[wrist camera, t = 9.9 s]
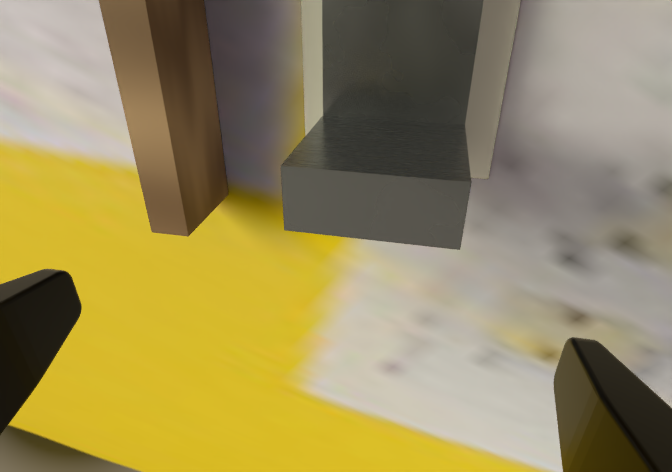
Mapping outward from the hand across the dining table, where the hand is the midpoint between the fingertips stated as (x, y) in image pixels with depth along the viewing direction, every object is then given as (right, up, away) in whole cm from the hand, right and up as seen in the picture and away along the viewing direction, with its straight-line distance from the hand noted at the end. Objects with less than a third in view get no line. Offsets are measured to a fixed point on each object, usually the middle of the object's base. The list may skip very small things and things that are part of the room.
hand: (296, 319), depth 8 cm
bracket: (+3, +8, +9) cm, 12 cm away
